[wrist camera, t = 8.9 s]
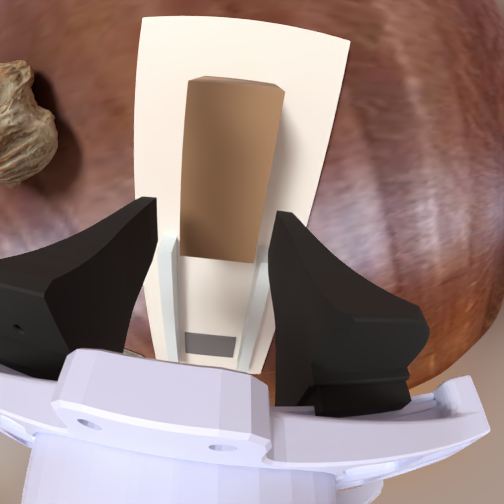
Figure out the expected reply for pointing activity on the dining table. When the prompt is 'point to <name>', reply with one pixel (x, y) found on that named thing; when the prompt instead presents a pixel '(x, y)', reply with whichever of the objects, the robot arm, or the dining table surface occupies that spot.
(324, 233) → the dining table surface
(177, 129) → the board
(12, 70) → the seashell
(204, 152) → the walnut block
